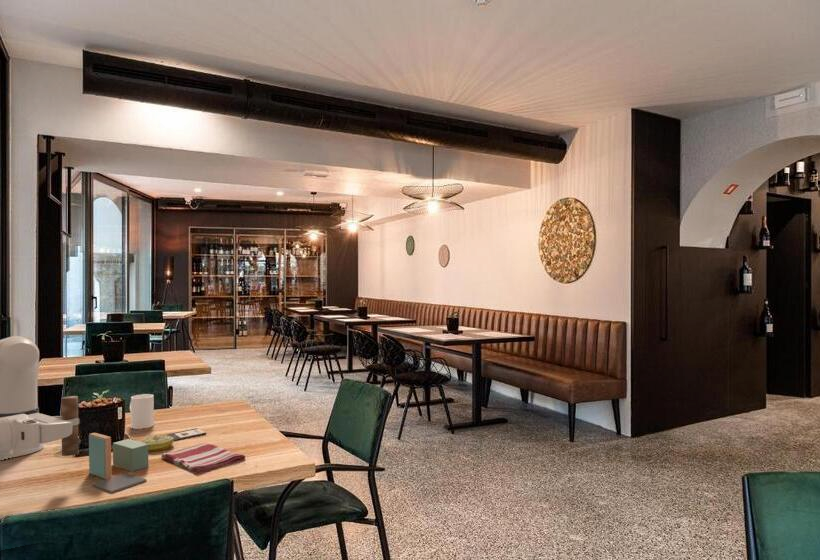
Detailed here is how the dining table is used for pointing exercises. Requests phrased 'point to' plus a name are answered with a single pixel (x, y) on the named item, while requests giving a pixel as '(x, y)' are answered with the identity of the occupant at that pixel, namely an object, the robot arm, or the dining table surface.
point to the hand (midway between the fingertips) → (73, 419)
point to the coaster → (119, 482)
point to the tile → (100, 455)
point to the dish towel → (202, 457)
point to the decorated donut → (158, 442)
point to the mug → (142, 411)
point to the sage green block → (130, 455)
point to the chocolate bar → (186, 434)
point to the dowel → (71, 411)
